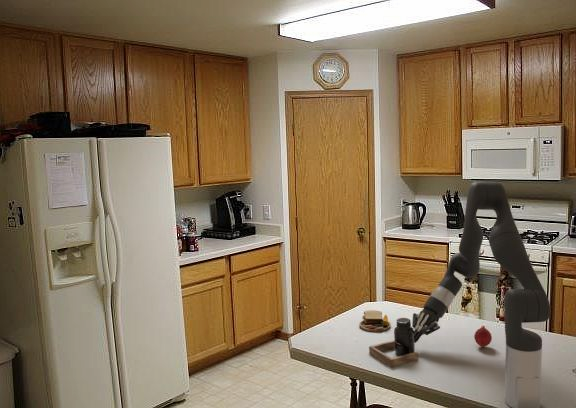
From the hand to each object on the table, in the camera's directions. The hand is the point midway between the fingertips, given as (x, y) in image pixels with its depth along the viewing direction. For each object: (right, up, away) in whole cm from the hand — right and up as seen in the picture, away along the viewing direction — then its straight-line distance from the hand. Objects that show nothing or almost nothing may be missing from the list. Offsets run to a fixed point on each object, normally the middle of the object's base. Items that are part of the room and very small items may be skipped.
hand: (412, 341), depth 186 cm
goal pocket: (-7, -4, -3) cm, 9 cm away
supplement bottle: (-3, -4, -1) cm, 5 cm away
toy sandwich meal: (-9, -1, +26) cm, 28 cm away
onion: (+25, -3, +1) cm, 26 cm away
